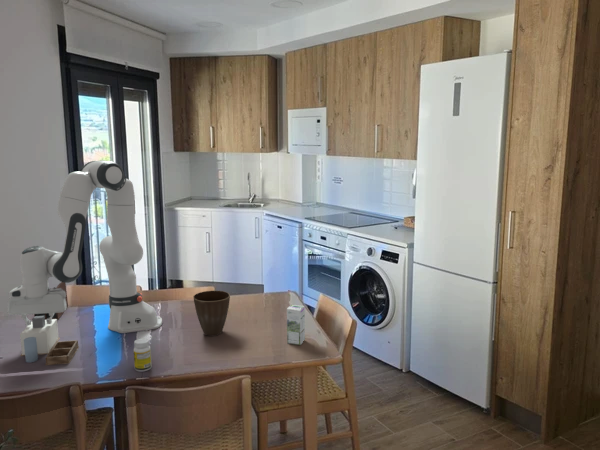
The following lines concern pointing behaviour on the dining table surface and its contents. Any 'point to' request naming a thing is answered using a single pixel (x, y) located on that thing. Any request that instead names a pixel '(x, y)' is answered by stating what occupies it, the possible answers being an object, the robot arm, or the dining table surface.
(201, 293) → the plant pot
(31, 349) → the peg
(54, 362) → the divided wooden tray
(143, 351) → the supplement bottle
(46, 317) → the letter holder
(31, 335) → the cover
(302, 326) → the syrup box
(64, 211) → the robot arm
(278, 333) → the dining table surface
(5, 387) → the dining table surface
